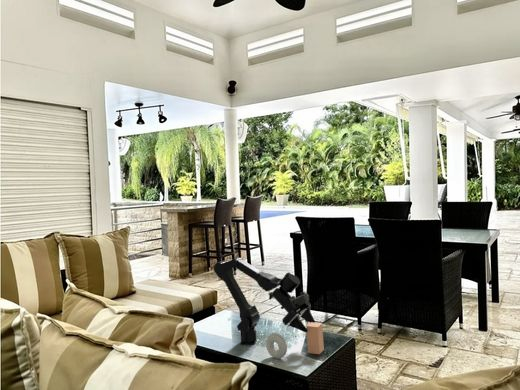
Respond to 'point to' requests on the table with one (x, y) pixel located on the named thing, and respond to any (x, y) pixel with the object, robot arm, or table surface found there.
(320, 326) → the post
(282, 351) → the donut
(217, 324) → the table surface
